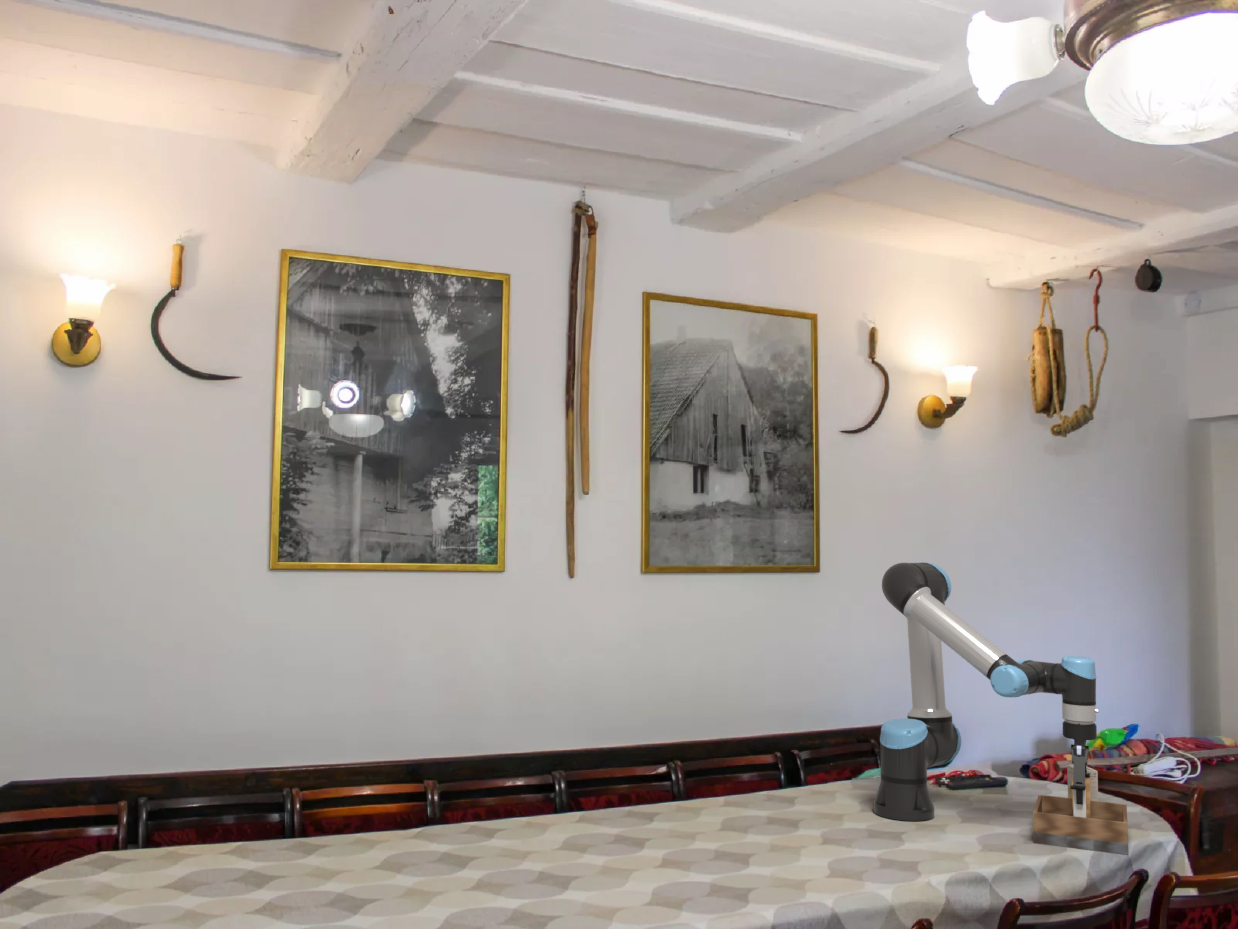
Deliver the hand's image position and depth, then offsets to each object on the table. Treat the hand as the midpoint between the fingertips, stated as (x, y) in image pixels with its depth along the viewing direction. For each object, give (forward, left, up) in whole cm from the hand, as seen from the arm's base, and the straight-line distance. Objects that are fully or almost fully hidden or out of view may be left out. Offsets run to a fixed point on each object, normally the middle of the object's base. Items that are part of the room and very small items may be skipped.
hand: (1080, 811), depth 250 cm
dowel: (0, 0, -6) cm, 6 cm away
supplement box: (0, +20, -7) cm, 21 cm away
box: (0, 0, -6) cm, 6 cm away
